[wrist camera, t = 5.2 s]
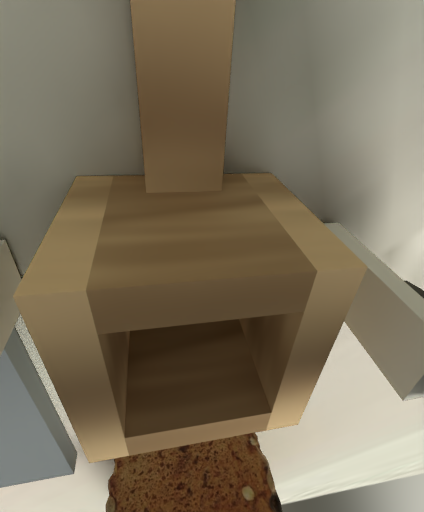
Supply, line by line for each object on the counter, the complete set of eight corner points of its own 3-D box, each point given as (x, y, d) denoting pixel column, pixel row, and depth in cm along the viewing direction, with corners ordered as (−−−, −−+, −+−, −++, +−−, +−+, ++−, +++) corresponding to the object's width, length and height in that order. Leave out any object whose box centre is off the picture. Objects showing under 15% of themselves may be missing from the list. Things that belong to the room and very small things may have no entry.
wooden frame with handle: (25, -56, 7) (-269, -317, 2) (304, -24, 8) (545, -133, 3) (122, 385, 17) (114, 517, 12) (238, 368, 18) (272, 482, 13)
